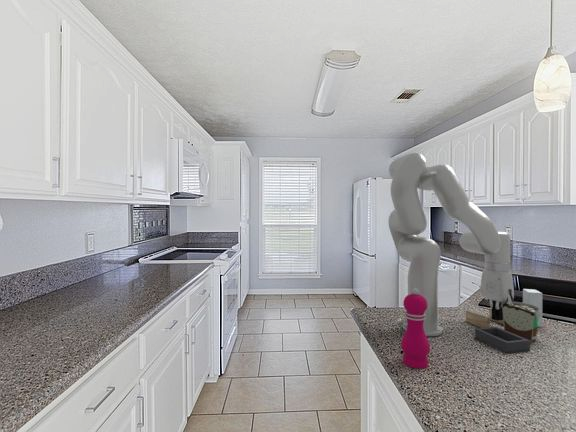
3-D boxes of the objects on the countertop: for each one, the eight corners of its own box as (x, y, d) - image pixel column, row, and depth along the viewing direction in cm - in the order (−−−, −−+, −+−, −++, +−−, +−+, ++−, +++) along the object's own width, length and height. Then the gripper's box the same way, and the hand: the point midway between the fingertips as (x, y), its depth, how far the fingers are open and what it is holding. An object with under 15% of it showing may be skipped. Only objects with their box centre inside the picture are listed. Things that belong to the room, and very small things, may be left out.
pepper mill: (427, 372, 84) (427, 292, 84) (397, 365, 88) (398, 289, 88) (432, 361, 90) (432, 287, 90) (404, 355, 94) (404, 284, 94)
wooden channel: (487, 330, 114) (487, 318, 114) (465, 321, 124) (465, 310, 124) (515, 327, 116) (515, 316, 116) (492, 318, 126) (492, 308, 126)
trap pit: (506, 353, 95) (506, 342, 95) (474, 338, 107) (474, 328, 107) (530, 350, 97) (530, 340, 97) (496, 336, 109) (496, 326, 109)
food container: (551, 341, 104) (551, 309, 104) (536, 344, 102) (536, 311, 102) (514, 328, 116) (514, 299, 116) (500, 330, 114) (500, 301, 114)
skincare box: (542, 327, 117) (543, 293, 117) (528, 326, 118) (528, 292, 118) (535, 322, 123) (535, 289, 123) (522, 320, 124) (522, 288, 124)
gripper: (471, 264, 123) (471, 314, 124) (506, 271, 109) (506, 327, 109) (489, 263, 125) (489, 312, 125) (525, 270, 111) (525, 325, 111)
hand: (497, 319), depth 117 cm, fingers closed
